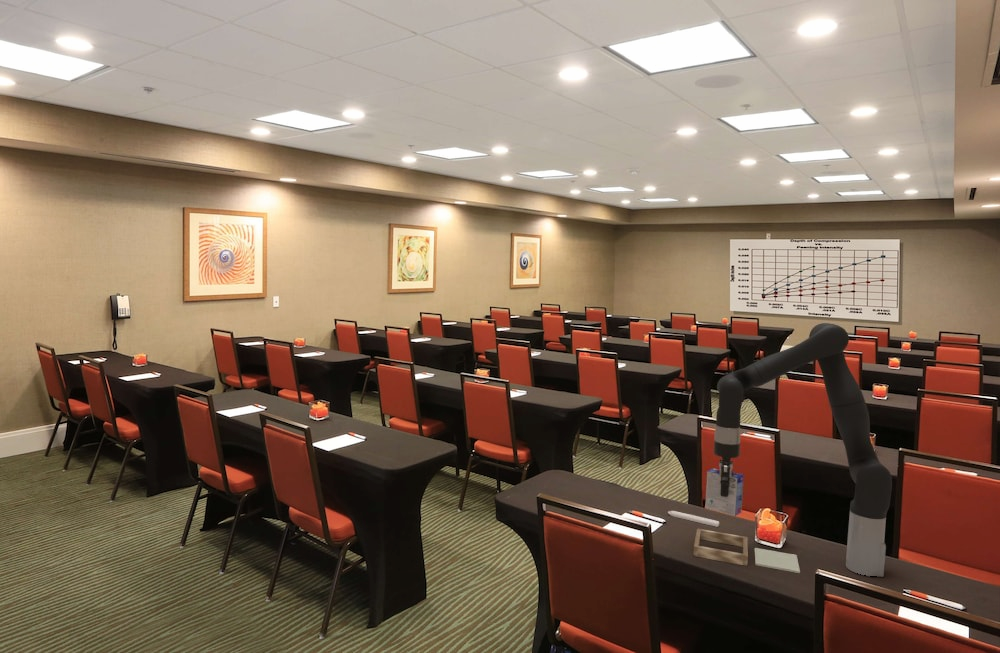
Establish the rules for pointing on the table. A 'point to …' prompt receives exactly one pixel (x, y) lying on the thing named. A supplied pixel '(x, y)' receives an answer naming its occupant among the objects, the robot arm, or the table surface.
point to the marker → (694, 518)
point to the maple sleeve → (721, 554)
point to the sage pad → (776, 560)
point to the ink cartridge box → (718, 502)
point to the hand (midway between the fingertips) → (724, 492)
